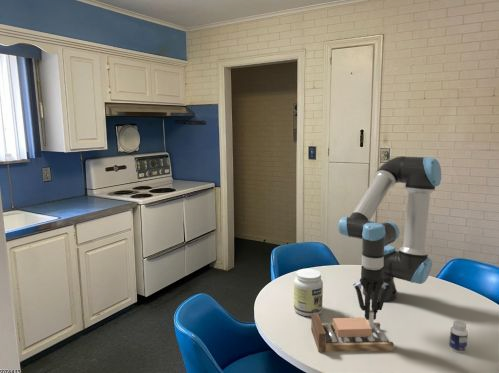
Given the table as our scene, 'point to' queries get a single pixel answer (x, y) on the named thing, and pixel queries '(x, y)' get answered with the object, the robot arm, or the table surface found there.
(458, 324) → the pill bottle
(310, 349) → the table surface
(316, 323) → the frame
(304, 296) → the supplement tub
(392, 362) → the table surface
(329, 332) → the roller bed
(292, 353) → the table surface
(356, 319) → the slab
